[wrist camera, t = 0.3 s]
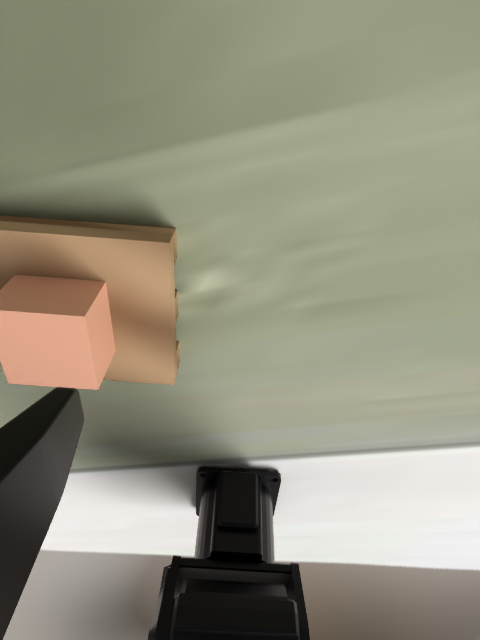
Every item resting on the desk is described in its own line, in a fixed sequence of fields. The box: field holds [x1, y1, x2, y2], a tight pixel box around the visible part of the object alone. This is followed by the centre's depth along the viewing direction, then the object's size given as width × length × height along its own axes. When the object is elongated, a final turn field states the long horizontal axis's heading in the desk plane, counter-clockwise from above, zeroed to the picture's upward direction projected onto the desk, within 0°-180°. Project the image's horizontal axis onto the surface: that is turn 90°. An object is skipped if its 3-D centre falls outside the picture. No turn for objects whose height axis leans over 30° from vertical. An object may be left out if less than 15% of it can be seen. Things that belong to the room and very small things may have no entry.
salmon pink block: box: [0, 275, 116, 390], centre depth 20 cm, size 4×4×3 cm
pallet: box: [0, 215, 179, 385], centre depth 22 cm, size 9×9×2 cm
